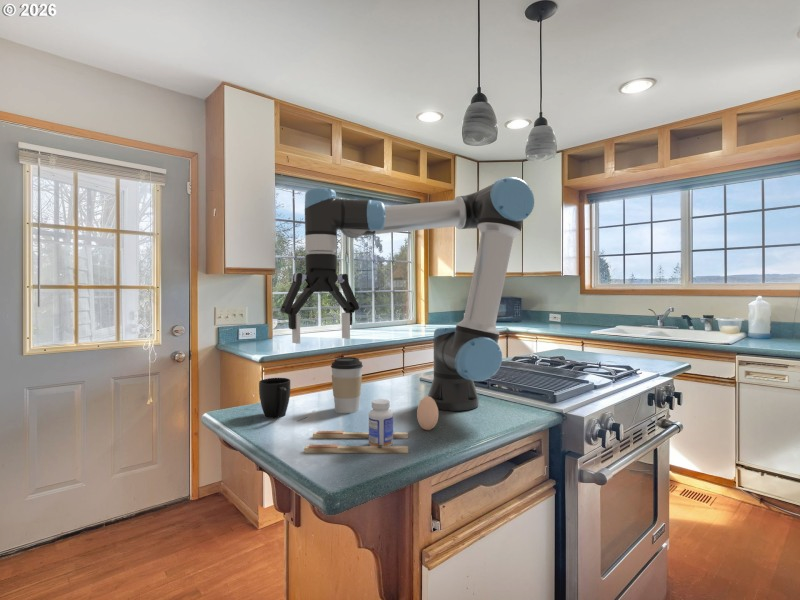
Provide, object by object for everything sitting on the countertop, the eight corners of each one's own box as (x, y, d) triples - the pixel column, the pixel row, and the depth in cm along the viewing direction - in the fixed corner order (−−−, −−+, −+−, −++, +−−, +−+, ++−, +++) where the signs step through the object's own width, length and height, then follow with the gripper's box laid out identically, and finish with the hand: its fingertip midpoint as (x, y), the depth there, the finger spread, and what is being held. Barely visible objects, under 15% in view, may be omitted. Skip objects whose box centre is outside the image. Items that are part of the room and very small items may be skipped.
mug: (267, 425, 108) (266, 388, 108) (256, 413, 118) (255, 379, 118) (298, 420, 112) (298, 384, 112) (285, 409, 122) (285, 376, 122)
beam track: (407, 436, 100) (407, 431, 100) (408, 452, 90) (408, 446, 90) (313, 436, 100) (313, 430, 100) (304, 452, 90) (304, 446, 90)
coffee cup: (324, 412, 120) (324, 358, 119) (341, 404, 128) (341, 354, 128) (353, 415, 116) (353, 361, 116) (368, 407, 125) (368, 356, 124)
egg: (412, 428, 106) (412, 395, 105) (428, 424, 109) (428, 392, 108) (426, 434, 101) (426, 400, 101) (442, 430, 105) (442, 396, 104)
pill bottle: (391, 439, 98) (391, 397, 98) (394, 448, 93) (394, 403, 92) (368, 440, 97) (368, 398, 97) (369, 449, 92) (369, 404, 92)
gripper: (355, 256, 115) (356, 335, 115) (265, 252, 99) (266, 343, 100) (372, 255, 109) (372, 337, 110) (278, 250, 93) (279, 346, 94)
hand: (322, 340), depth 105 cm, fingers open, 13 cm apart
